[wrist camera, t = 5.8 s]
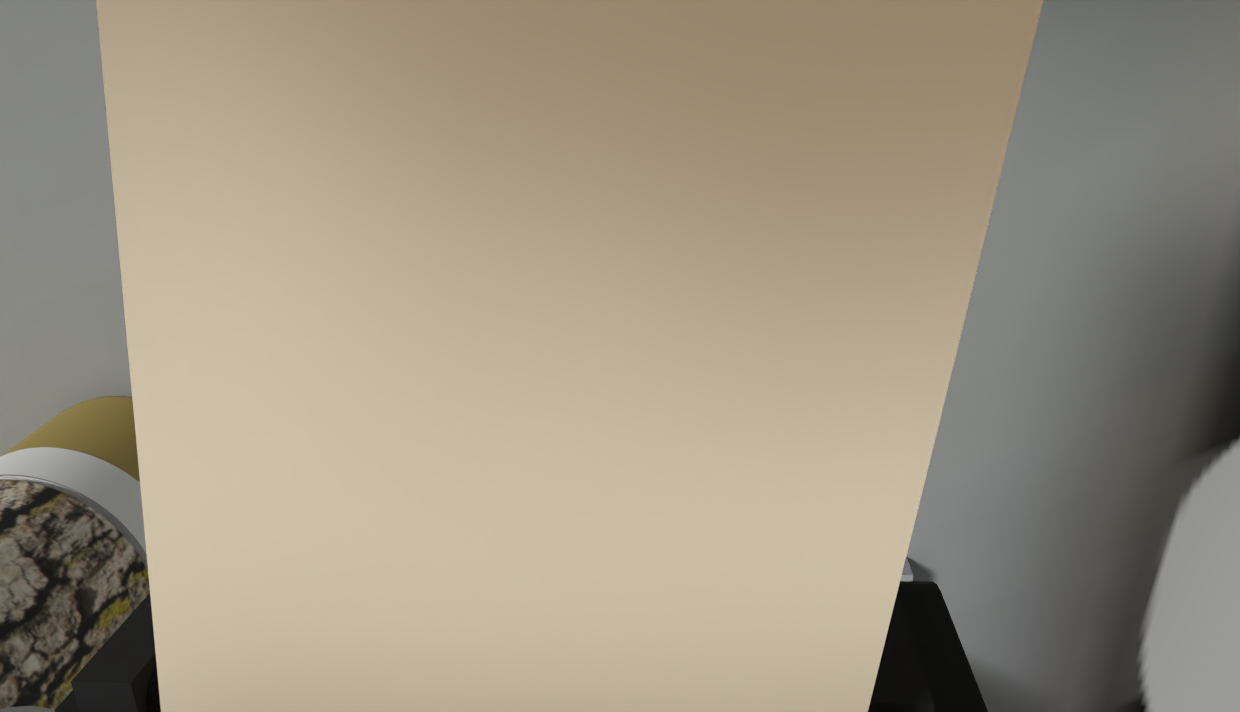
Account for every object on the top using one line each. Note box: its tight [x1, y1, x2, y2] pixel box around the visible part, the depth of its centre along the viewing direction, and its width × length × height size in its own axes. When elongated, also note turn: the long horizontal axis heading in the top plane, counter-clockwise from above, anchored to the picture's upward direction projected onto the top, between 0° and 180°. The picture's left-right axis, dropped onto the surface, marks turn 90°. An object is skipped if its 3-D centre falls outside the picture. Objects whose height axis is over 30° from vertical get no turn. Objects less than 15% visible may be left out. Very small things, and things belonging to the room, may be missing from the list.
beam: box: [96, 0, 1043, 712], centre depth 10 cm, size 18×5×5 cm, turn 174°
